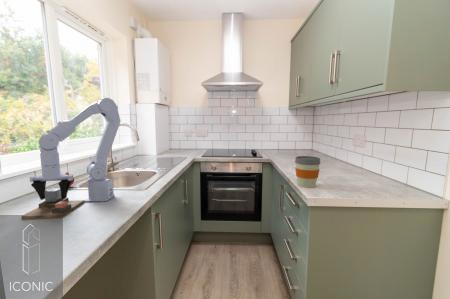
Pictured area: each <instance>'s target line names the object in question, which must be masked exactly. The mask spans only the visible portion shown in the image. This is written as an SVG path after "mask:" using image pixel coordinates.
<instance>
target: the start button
mask: <svg viewBox="0 0 450 299" xmlns="http://www.w3.org/2000/svg"><path fill="white" fill-rule="evenodd" d="M66 206H67V201H60V202H58V203H56V204H55V207H56V208H64V207H66Z"/></svg>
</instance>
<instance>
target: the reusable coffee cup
mask: <svg viewBox="0 0 450 299" xmlns="http://www.w3.org/2000/svg"><path fill="white" fill-rule="evenodd" d="M294 163H295V175H296V176H295V177H296V180H297V186H299V187H301V188H305V189H308V188H309V189H311V188H315V187H316V185H317V180H318V178H319V175H320V165H321V158H320V157H317V156H309V155H306V156H305V155H301V156H300V155H299V156H296V157H295V161H294Z"/></svg>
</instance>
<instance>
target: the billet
mask: <svg viewBox="0 0 450 299" xmlns="http://www.w3.org/2000/svg"><path fill="white" fill-rule="evenodd" d="M44 192H45V199H44V201H45V203H58V202H60V201H61V200H63V199H62V197H61V189H60V187H56V188H49V189H47V190H46V189H45V191H44Z"/></svg>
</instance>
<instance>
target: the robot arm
mask: <svg viewBox="0 0 450 299" xmlns="http://www.w3.org/2000/svg"><path fill="white" fill-rule="evenodd" d="M97 114H98V115H99V114H101V115H102V116H103V118H104V119H105V121H106V125H105V127H104V129H103V130H104V131H103V133H102V135H101V138H100V141H99V145H98V147H97V150H96V151H95V152H96V153H95V155H94V157H93V158H92V159H91V162H90V163H89V164H88V165H87V167H86V172H87V174H88V177H87V191H88V192H87V193H88V197H87V198H86V199H85V203H86V202H90V203H91V202H108V201H109V200H111V199H112V198H113V197H114V196H115V192H114V191H115V190H114V181H113V179H112V178H107V176H106V175H107V167H108V158H109V155H110V152H111V149H112V147H113V144H114V141H115V138H116V136H117V133H118V130H119V127H120V124H121V116H120V114H119V106H118V105H117V103H116V102H115V101H114V100H113V99H112V98H109V97H103V98H101V99H98V100H97V101H95V102H93V103H91V104H90V105H88V106H86V107H85V108H84V109H82V110H81V111H80V112H79V113H77V114H76V115H75V116H73V117H72V118H71V119H70V120H65V119H63V120H62V121H58V122H56V124H57V125H55V126H54V127H52V128H51V129H47V130H45V132H46V133H45V134H43V135H41V136H40V137H39V139H38V144H39V146H40V148H39V151H40V154H39V156H40V166H41V174H42V175H41V174H40V175H32V176H30V177H29V182H30V183H31V184H30V186H31V187H32V188H33V189H34V190H35V191H36V194H38V197H39V199H40V201H43V200H45V192H44V191H46V185H47V182H53V181H54V182H55V181H56V182H58V183H57V184H58V186H59V188H60V189H61V197H62V199H65V198H68V197H67V196H68V191H69V189H70V187H71V186H70V184H71V182H72V180H73V177H74V175H73V174H70V175H64V174H61V164H60V153H59V151H58V146H59V143H60V142H63V141H65V140H66V139H68V138H69V137H70V136H72V135H73V134H74V133H75V132H76V127H78V125H80V124H82V123H83V122H84V121H85V120H87V119H88V118H90V117H92V116H93V115H97ZM69 186H70V187H69Z"/></svg>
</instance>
